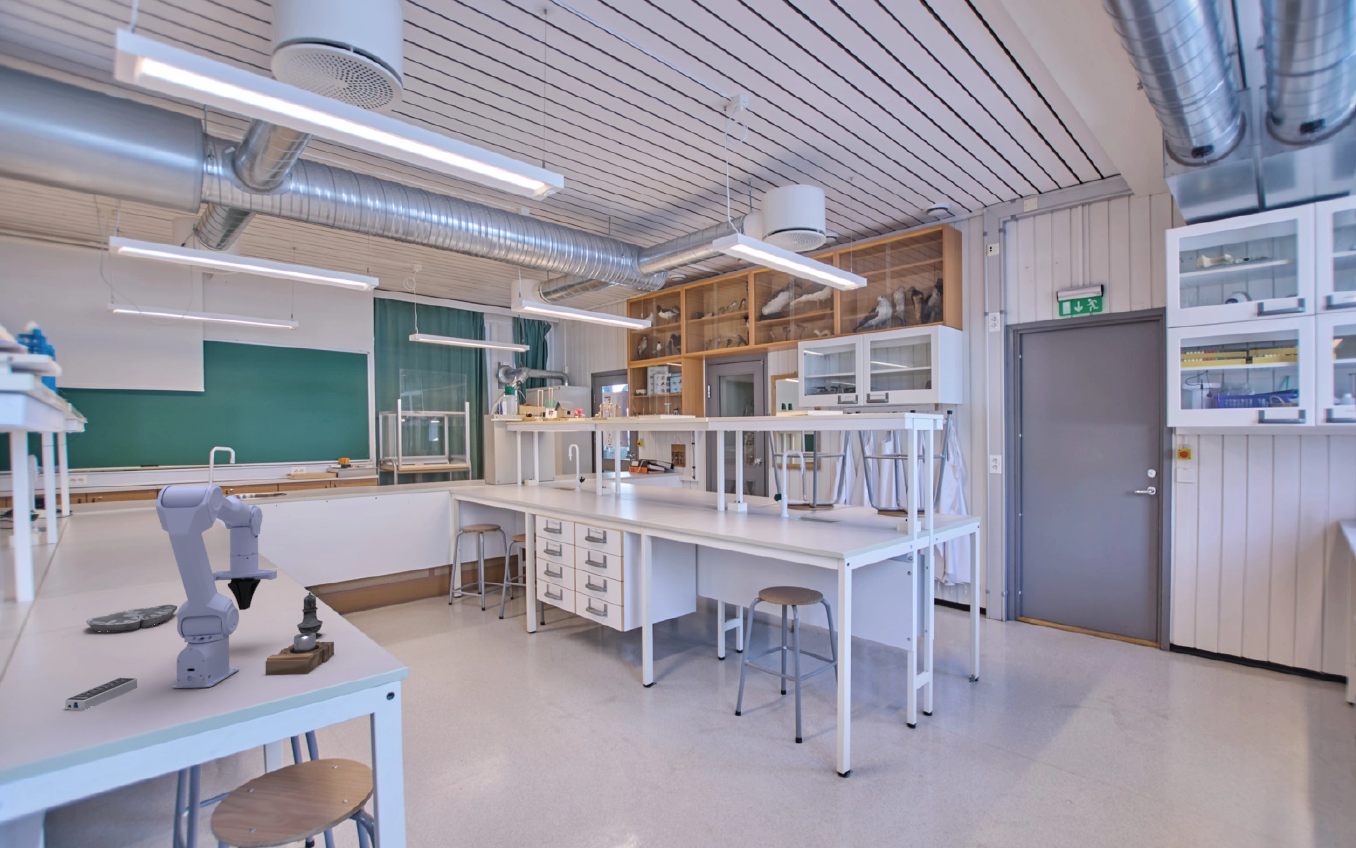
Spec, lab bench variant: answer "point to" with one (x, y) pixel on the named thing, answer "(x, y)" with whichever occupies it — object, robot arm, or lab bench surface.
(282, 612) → the lab bench surface
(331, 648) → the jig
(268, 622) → the lab bench surface
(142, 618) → the brain slice
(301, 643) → the bushing
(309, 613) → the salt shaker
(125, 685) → the multiport hub
